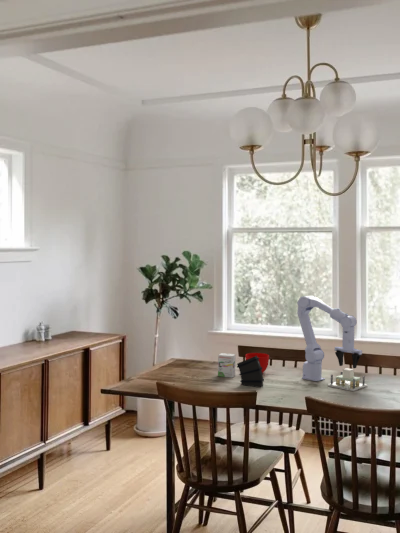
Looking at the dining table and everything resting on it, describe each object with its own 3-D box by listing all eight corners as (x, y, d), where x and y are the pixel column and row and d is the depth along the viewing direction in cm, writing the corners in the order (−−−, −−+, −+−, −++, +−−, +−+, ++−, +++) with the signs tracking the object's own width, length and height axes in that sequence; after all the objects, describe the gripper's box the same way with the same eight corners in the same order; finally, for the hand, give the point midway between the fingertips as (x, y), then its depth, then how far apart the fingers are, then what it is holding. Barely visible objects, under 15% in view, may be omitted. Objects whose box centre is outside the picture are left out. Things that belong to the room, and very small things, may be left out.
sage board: (335, 378, 287) (335, 368, 287) (342, 376, 292) (343, 366, 292) (353, 381, 280) (353, 371, 280) (360, 379, 285) (360, 369, 285)
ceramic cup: (275, 371, 320) (276, 353, 320) (262, 376, 306) (262, 358, 305) (255, 368, 327) (255, 351, 327) (241, 373, 313) (241, 355, 312)
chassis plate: (327, 386, 286) (328, 375, 285) (342, 381, 296) (342, 371, 295) (353, 391, 276) (353, 379, 276) (367, 386, 286) (367, 375, 286)
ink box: (217, 376, 305) (217, 354, 305) (220, 374, 310) (220, 352, 310) (232, 377, 302) (232, 355, 302) (235, 375, 307) (235, 354, 307)
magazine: (266, 385, 280) (255, 356, 282) (244, 393, 285) (233, 365, 288) (269, 383, 283) (257, 355, 285) (247, 391, 289) (236, 364, 291)
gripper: (365, 340, 285) (364, 367, 285) (339, 337, 295) (339, 363, 295) (358, 342, 280) (357, 370, 280) (332, 338, 290) (331, 365, 290)
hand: (347, 366), depth 288 cm, fingers open, 7 cm apart
